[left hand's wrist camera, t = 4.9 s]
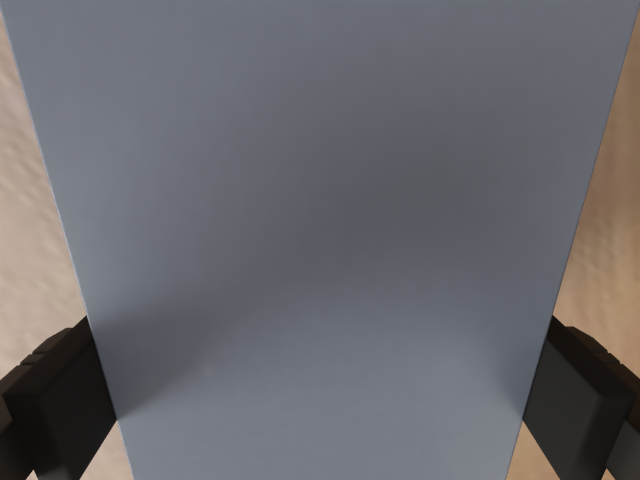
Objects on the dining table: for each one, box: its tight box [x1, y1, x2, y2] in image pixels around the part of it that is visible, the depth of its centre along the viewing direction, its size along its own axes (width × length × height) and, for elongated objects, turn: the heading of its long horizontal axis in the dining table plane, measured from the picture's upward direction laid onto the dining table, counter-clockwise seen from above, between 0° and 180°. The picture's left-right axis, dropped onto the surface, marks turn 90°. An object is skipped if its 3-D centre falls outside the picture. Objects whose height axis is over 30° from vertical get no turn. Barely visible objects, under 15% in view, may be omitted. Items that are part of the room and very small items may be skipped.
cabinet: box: [0, 0, 640, 480], centre depth 11 cm, size 19×11×8 cm, turn 0°
